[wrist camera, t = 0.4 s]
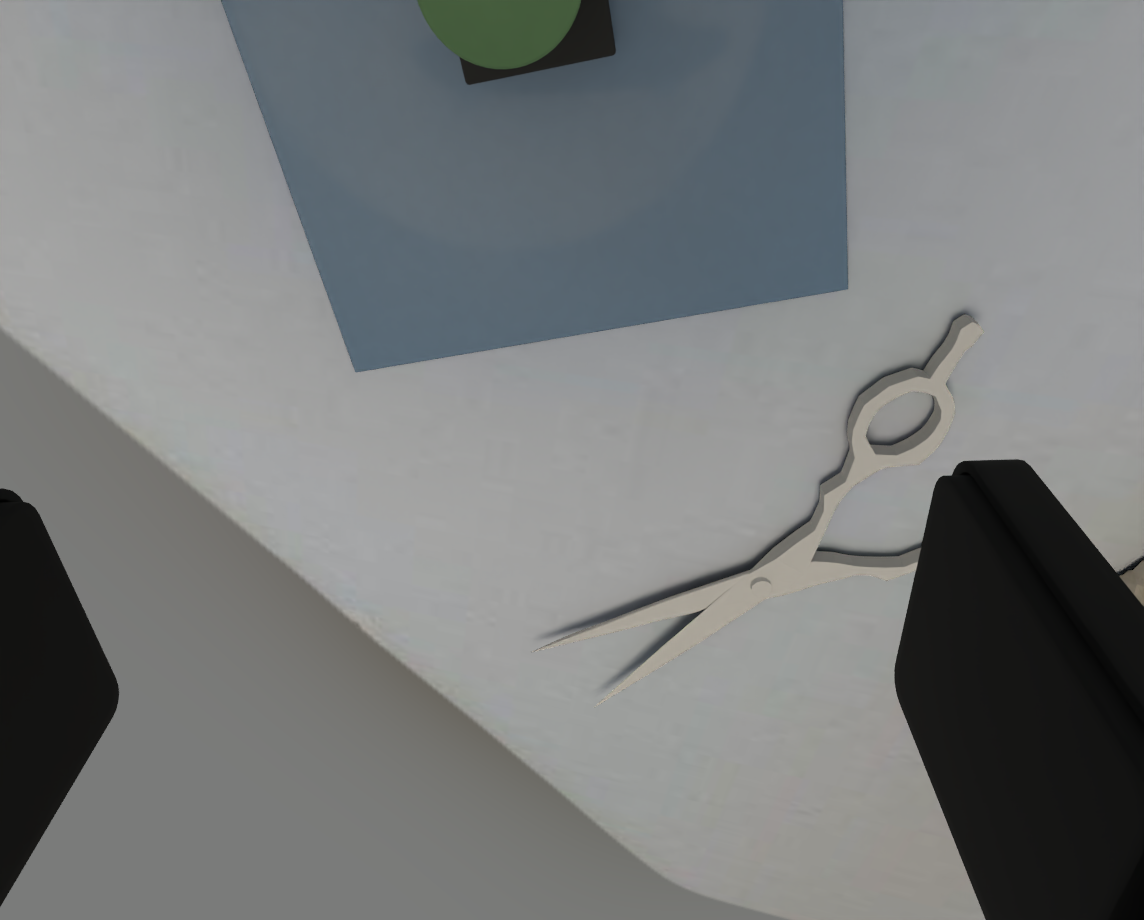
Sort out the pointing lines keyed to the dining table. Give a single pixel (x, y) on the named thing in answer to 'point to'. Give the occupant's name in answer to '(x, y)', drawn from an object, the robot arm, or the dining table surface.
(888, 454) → the scissors
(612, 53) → the stamp
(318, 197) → the napkin
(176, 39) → the dining table surface
